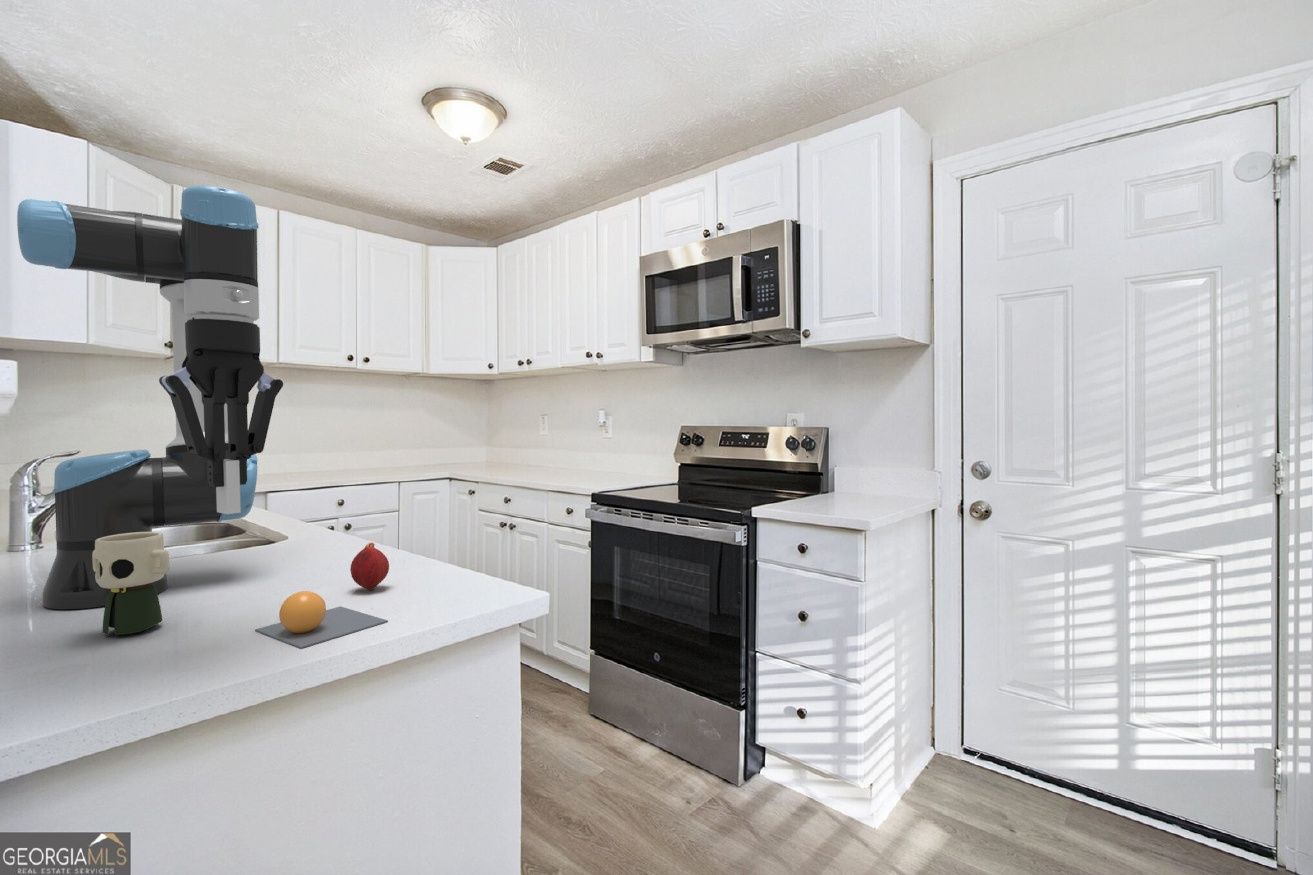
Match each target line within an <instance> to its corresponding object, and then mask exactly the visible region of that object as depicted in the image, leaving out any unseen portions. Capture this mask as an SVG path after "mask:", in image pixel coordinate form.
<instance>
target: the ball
mask: <svg viewBox="0 0 1313 875" xmlns="http://www.w3.org/2000/svg"><path fill="white" fill-rule="evenodd" d="M326 610H327V605H326V602H325V600H324V598H322V596H321V595H319V594H318V593H316V592H314V591H311V590H309V591H308V590H302V591H297V592H295V593H293V594H291V595H290V596H287V598H286V599H285V600H284V601H283V602H282V604H281V606H280V609H279V611H278V612H279V613H278V619H279V623H280V622H281V624H282V625H283V627H284V628H285V629H287V630H288V631H290V632H293V633H306V632H309V631H312V630H314V629H315V628H316V627H318V626H319V625H320V624H321V622H322V621H323V619H324V617H325V614H326Z"/></svg>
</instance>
